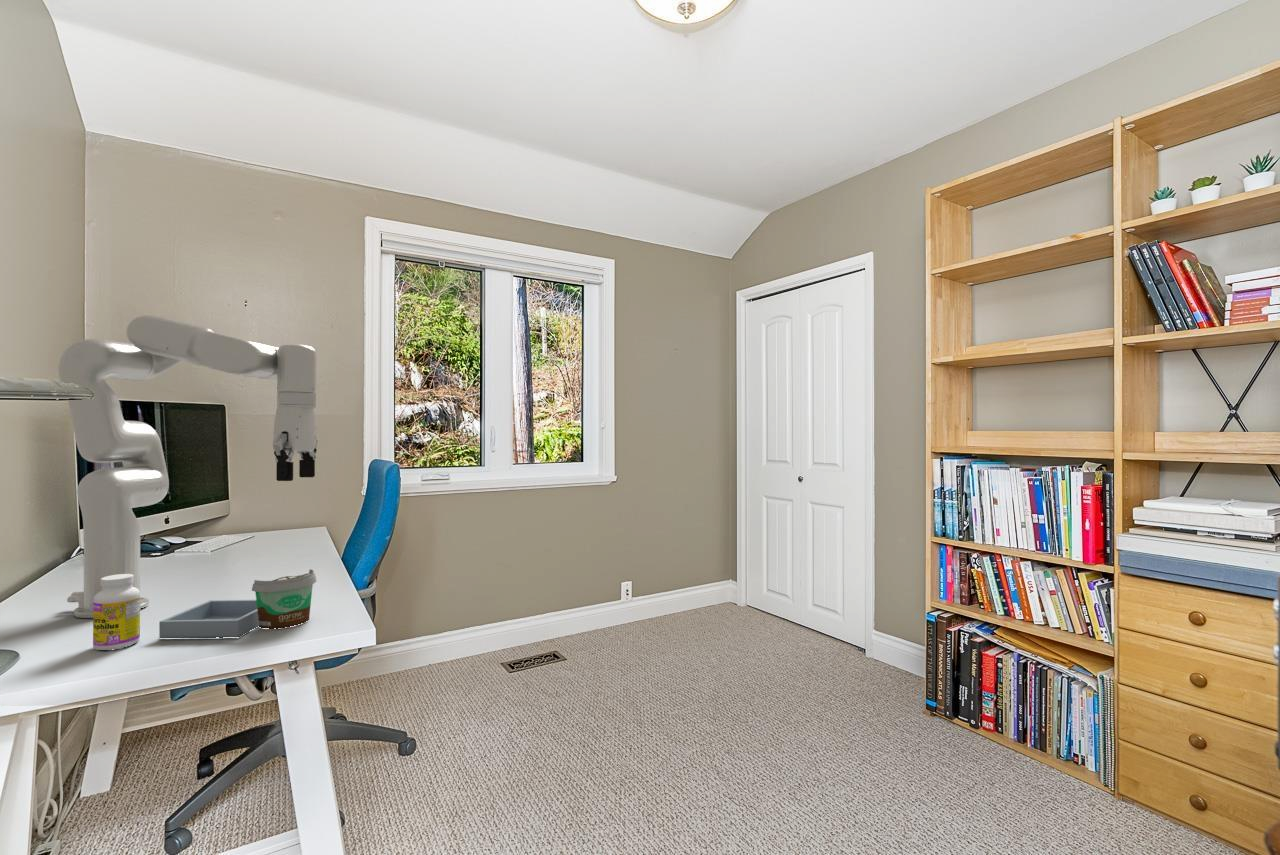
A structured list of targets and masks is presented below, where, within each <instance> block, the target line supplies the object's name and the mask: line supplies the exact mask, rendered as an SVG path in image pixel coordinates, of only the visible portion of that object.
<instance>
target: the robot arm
mask: <svg viewBox="0 0 1280 855" xmlns="http://www.w3.org/2000/svg"><path fill="white" fill-rule="evenodd" d="M126 336H127V339H128V341H129V342H130V343H127V342H121V341H116V340H111V339H101V338H85V339H81V340H78V341H75V342H73V343H72V344H69V345H68V347H66V349H65V350H64V351H63V353H62V354H61V356H60V358H59V361H58V368H57V371H58V379H59V382H60V383H61V382H64V383H74V384H78V385H81V386H84V387H86V388H88V389H90V390H91V391H92V392H93V393H94V398H93V399H82V400H67V403H68V404H67V405H68V407H69V408H68V409H69V412H70V413H69V414H70V418H71V423H72V428H73V432H74V438H75V443H76V446H77V450H78V452H79V454H80V456H81V458H83V459H84V460H86V461H87V462H91V463H101V464H102V463H103V464H104V463H107V464H108V463H122V466H120V467H119V466H118V467H106V468H100V469H97V470H94V471H92V472H90V473H87V474H86V475H85V476H84V477H83V478H82V479H81V480H80V482H79V484H78V486H77V489H76V490H77V491H76V492H77V493H76V494H77V501H78V505H79V507H80V511H81V517H82V525H83V526H82V528H83V591H73V592H72V593H71V594H70V596H68V597H66V598H67V599H66V601H67V603H78V606H77V608H75V609H74V610H73V616H74V617H75V618H81V619H93V600H94V597H95V595H96V594H97V593H99V592H101V591H102V587H101V578H103V577H106V576H111V575H118V574H133V575H134V581H133V583H132V587H135V588H137V589H138V590H139V591H140V592H141V527H140V523H139V520H138V518H137V517H136V514H135V513H134V512H133V509H134V508H139V507H140V508H141V507H148V506H152V505H155V504H158V503H159V502H161V501H162V500H164V498H165V497H166V496H167V494H168V492H169V488H170V487H169V486H170V479H169V474H168V473H169V472H168V469H167V468H168V467H167V465H166V464H167V463H166V459H165V455H164V449H163V445H162V441H161V439H160V436H159V434H158V432H157V431H156V430H155V429H154V428H153V427H152V426H151V425H149V423H147V422H143V421H138V420H125V419H124V416H123V412H122V408H121V403H120V400H119V398H118V395H117V394H116V392H115V391H114V390H113V388H111V387H110V385H109V384H108V383H107V381H106V380H107V379H112V380H113V379H114V380H120V381H121V380H122V381H132V382H144V381H148V380H152V379H155V378H156V377H159V375H162V374H163V373H165V372H167V371H169V370H171V369H172V368H174V367H176V366H177V365H179V364H181V363H183V362H184V363H187V364H191V365H195V366H198V367H203V368H208V369H210V370H211V369H212V370H216V371H220V372H223V373H228V374H231V375H236V376H242V377H248V378H257V379H264V380H277V381H276V411H275V415H274V422H273V423H274V425H273V433H272V434H273V435H272V436H273V438H272V439H273V440H272V449H273V454H274V457H275V460H274V461H275V462H276V472H275V473H276V474H275V475H276V481H277V482H292V481H294V461H292V460H293V457H294V455H295V453H296V454H297V453H298V454H299V457H300V459H299V463H298V466H299V468H298V469H299V473H298V475H299V478H315V476H316V458H317V457H316V453H317V450H318V449H317V446H318V439H317V438H316V437H317V430H316V429H317V428H316V416H315V409H317V351H316V349H315V348H313V347H312V346H309V345H304V344H295V343H294V344H292V343H291V344H290V343H289V344H282V345H280V346H279V347H278V346H273V345H268V344H264V343H260V342H255V341H249V340H245V339H241V338H237V337H236V338H235V337H231V336H228V335H225V334H224V335H223V334H220V333H216V332H214V331H213V330H212V329H211V328H208V327H205V326H200V325H197V324H192V323H188V322H184V321H181V320H176V319H173V318H167V317H164V316H163V317H162V316H159V315H154V314H153V315H149V314H147V315H141V316H137V317H135V318H134V319H132V320H131V321H129V323H128V324H127V326H126ZM148 604H150V602H149V599H148V598H146V597H141V596H140V610H142V609H141V608H143V609H144V607H145V608H146V607H148V606H149V605H148Z"/></svg>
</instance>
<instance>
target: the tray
mask: <svg viewBox="0 0 1280 855" xmlns="http://www.w3.org/2000/svg"><path fill="white" fill-rule="evenodd" d="M258 626H259V619H258V610H257V601H256V599H213V600H212V599H211V600H207V601H204V602H203V603H200V604H198V605H195V606H193V607H191V608H188V609H186V610H184V611H180V612H179V613H177V614H175V615H172V616H170V617H167V618H164V619H163V620H160V621H159V628H158V630H159V632H158V633H159V636H158V638H216V637H219V638H223V637H240V636H242V635H243V634H245V633H247V632H249V631H250V630H252V629H254V628H256V627H258ZM258 628H259V627H258ZM256 629H257V628H256ZM249 633H250V632H249ZM242 637H243V636H242ZM240 638H241V637H240Z"/></svg>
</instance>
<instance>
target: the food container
mask: <svg viewBox="0 0 1280 855" xmlns="http://www.w3.org/2000/svg"><path fill="white" fill-rule="evenodd" d="M314 571H315V570H313V569H311V568H310V569H309V571H308V573H305V574H300V575H290V576H282V577H279V578H276V579H273V580H259V579H258V580H256V579H255V580H254V582H253V584H252V587H251V591H252V592H255V593H254V594H255V600H256V601H257V610H258V619H259V627H261V628H269V629H274V628H276V629H278V628H285V627H290V626H294V625H298V624H301V623H304V622H306V621H308V620H309V621H310V613H311V605H312V595H313V586H314V584H315V583H316V582H317V575H316V573H315V572H314ZM309 621H308V622H309ZM306 623H307V622H306ZM304 624H305V623H304ZM259 627H258V628H259ZM278 630H279V629H278Z"/></svg>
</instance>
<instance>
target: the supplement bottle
mask: <svg viewBox="0 0 1280 855" xmlns="http://www.w3.org/2000/svg"><path fill="white" fill-rule="evenodd" d="M133 581H134V575H133V574H118V575H111V576H106V577H103V578H101V587H102V591H101V592H99V593H97V594H96V595H95V597H94V600H93V618H92V619H93V620H92V622H93V625H92V626H93V627H92V630H93V631H92V647H93V649H94V650H95V651H99V650H110V651H113V650H112V649H118V650H120V649H119V648H122V649H124V648H123V647H126V646H129V645H132V644H134V643H136V642H137V643H138V642H139V641H140V637H141V609H140V597H141V590H140V591H139V590H138V589H137V588H135V587H132V583H133ZM137 643H136V644H137ZM134 645H135V644H134ZM132 646H133V645H132ZM129 647H130V646H129ZM126 648H127V647H126Z"/></svg>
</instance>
